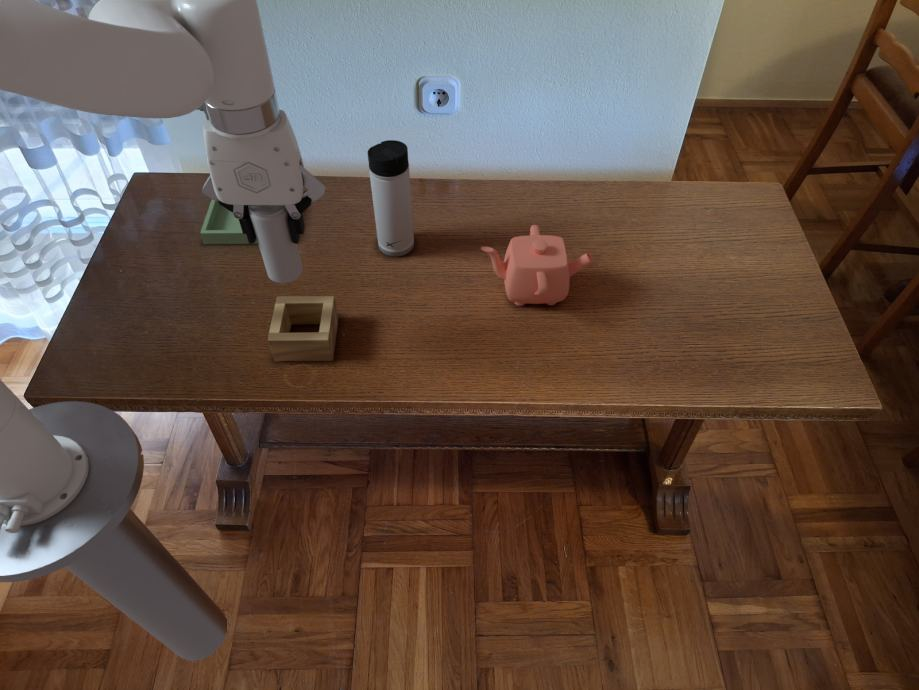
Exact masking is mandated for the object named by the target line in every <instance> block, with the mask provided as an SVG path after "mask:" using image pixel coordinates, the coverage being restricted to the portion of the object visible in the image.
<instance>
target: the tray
mask: <svg viewBox="0 0 919 690" xmlns="http://www.w3.org/2000/svg"><path fill="white" fill-rule="evenodd" d="M200 237H201V239H202V241H203V245H250V244H249V242H248V238H247V235H246V234H243V232H242V229H241V226H240V222H239V219H237V218H235V217H234V216H233V213H232V212H231V211H229V210H228V209H226V208H225V207H223V206H221V205H220V204H219V202H218V201H214V200H212V199H211V200H210V203H209V206H208V209H207V212H206V215H205V217H204V221H203V224H202V226H201V229H200ZM252 245H258V242H257V238H256V241H255V242H254V243H253V244H252Z"/></svg>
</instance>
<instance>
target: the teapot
mask: <svg viewBox="0 0 919 690" xmlns="http://www.w3.org/2000/svg"><path fill="white" fill-rule="evenodd" d="M480 250H481V251H483V252H484V253H486V254H488V255H489V257H490V259H491V264H492V268H493V272H494V273H495V275H496V276H497V277H498V278H499V279H501V280H502V281H503V283H504V289H505V294H506V297H507V299H508V301H510V302H511V303H512V302H513V303H514V304H515V305H516V306H524V305H526V304H532V305H541V304H546V305H548V306H554V305H556V304H557V303H559V302H563V301H564V300H565V299H566V298H567V296H568V295H569V291H570V277H572V276H573V275H576V274H578V273H579V272H580V271H582V270H583V269H586V268H587V267H588V266H590V265H592V264H593V263H595V261H594V258H593V256H592V255H591V254H590V253H589V252H586V253H584V254H583V255H581V256H579V257H577V258H576V259H574V260H573V261H571V262H570V263H569V260H568V259H569V258H568V253H567V248H566V244H565V240H564V238H563V237H562V236H557V235H550V234H549V235H547V234H541V229H540V226H539V225H538V224H532V225H531V226H530V229H529V235H519V236H514V237H512V238H511V239H510V241H509V243H508V246H507V248H506V250H505V251H506V252H505V254H504V259H503V260H501V259H500V256H499V253H498V251H497V250H496V249H495V248H493V247H490V246H481V247H480Z"/></svg>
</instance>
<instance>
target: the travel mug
mask: <svg viewBox="0 0 919 690" xmlns="http://www.w3.org/2000/svg"><path fill="white" fill-rule="evenodd" d="M408 149H409V148H408V145H407V144H406V143H404V142H402V141H400V140H395V139H389V140H383V141H380V143H377V144H375V145H373V146H371V147H370V148H368V149H367V161H368V171H369V179H370V181H369V182H370V189H371V197H372V203H373V212H374V213H373V214H374V220H375V228H376V229H375V230H376V238H377V245H378V246H377V247H378V249H379V251H380V252H382V253H383V254H384V255H386V256H389V257H403V256H405V255H407V254H409V253H410V252H411V251H412V250H413V249H414V247H415V237H414V236H415V235H414V221H413V219H414V218H413V204H412V189H411V175H410V174H411V173H410V163H409V150H408Z"/></svg>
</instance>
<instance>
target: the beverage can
mask: <svg viewBox="0 0 919 690" xmlns="http://www.w3.org/2000/svg"><path fill="white" fill-rule="evenodd" d="M248 207H249V215H250V218H251V221H252V225H253V228H254V232H255V235H256V238H257V242H258V244H257V245H258V247H259V248H258V249H259V252H260V255H261V257H262V260H263V264H264V267H265V271H266V274H267V277H268V279H269V280H270V281H272V282H274V283H277V284H280V285H281V284H282V285H285V284H289V283H293V282H295V281H296V280H297V279H299V278H300V276H301V275H302V273H303V268H304V267H303V263H302V258H301V254H300V249H299V246H298V244H294V243H292V239H291V235H290V230H289V226H288V221H287V220H288V215H289V213H288V211H287V209H286V207H285V206H284V205H248Z"/></svg>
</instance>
